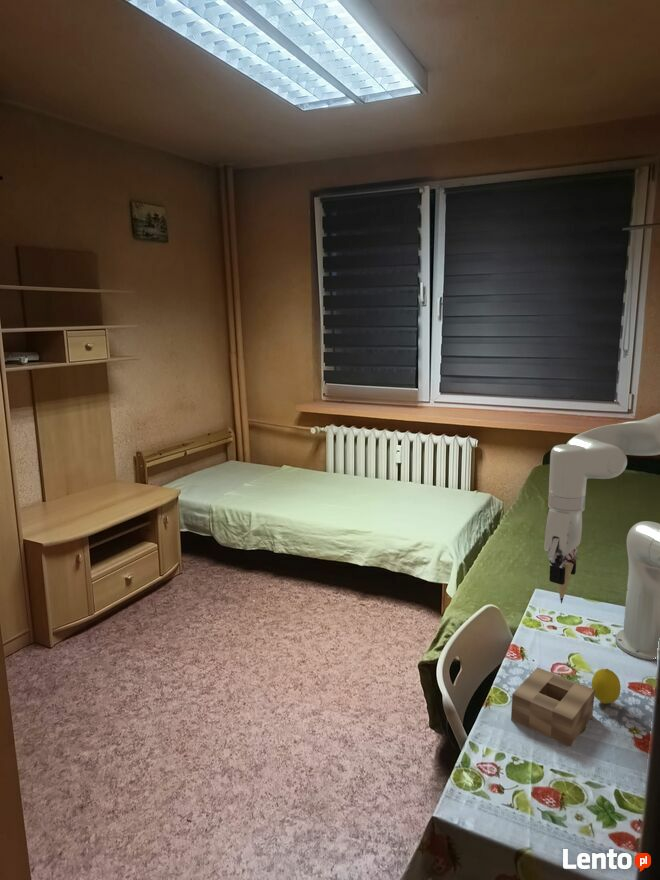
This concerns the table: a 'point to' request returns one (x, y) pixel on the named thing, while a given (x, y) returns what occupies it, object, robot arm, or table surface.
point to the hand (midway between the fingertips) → (562, 576)
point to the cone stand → (553, 706)
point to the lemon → (606, 686)
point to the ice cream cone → (566, 571)
